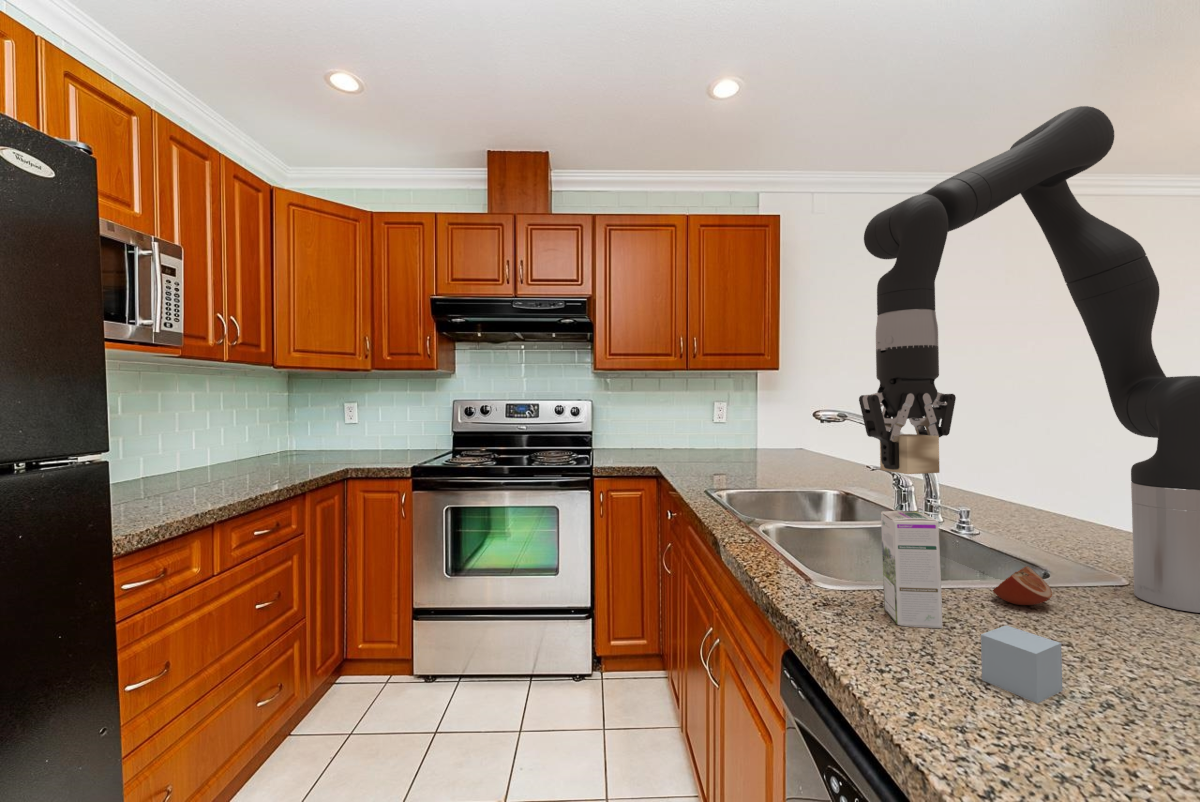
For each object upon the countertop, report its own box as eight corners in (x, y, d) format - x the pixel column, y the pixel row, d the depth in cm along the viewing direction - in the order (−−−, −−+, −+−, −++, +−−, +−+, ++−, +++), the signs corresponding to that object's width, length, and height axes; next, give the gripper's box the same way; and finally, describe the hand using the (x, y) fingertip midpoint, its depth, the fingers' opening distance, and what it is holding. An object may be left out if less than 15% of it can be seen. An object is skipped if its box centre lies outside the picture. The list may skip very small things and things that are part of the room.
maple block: (910, 468, 75) (909, 434, 75) (939, 472, 70) (938, 435, 70) (880, 469, 74) (879, 434, 74) (907, 474, 69) (906, 436, 69)
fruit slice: (1004, 591, 82) (1003, 559, 82) (1059, 603, 77) (1058, 570, 77) (985, 604, 77) (984, 570, 77) (1043, 618, 72) (1042, 582, 72)
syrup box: (944, 629, 69) (942, 519, 69) (895, 626, 70) (893, 518, 70) (926, 612, 74) (924, 510, 74) (881, 609, 75) (879, 509, 76)
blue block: (1007, 669, 58) (1006, 625, 58) (1062, 691, 54) (1061, 643, 54) (981, 680, 56) (980, 634, 56) (1037, 704, 52) (1036, 653, 52)
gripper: (928, 349, 77) (930, 463, 77) (843, 348, 75) (845, 467, 74) (973, 343, 70) (976, 469, 70) (881, 342, 67) (883, 473, 67)
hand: (908, 467), depth 72 cm, fingers closed on maple block, 5 cm apart
